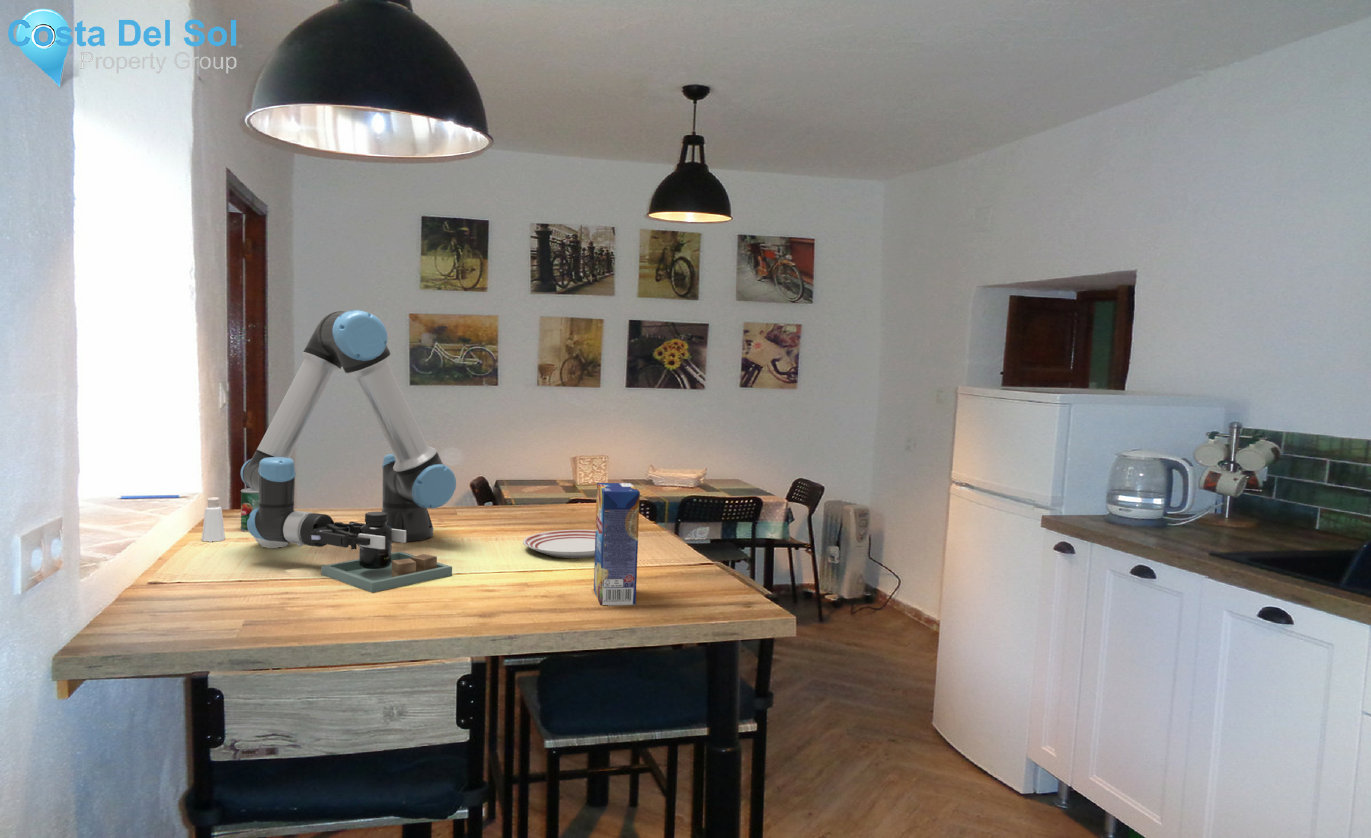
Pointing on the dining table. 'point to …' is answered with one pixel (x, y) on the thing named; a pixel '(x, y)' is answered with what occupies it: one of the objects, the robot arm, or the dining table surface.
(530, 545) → the dinner plate
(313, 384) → the robot arm
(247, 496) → the canned tomato
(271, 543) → the lidded jar
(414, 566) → the walnut block
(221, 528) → the pepper shaker
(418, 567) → the walnut block
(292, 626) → the dining table surface
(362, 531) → the supplement bottle
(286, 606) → the dining table surface
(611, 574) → the juice carton
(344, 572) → the tray
